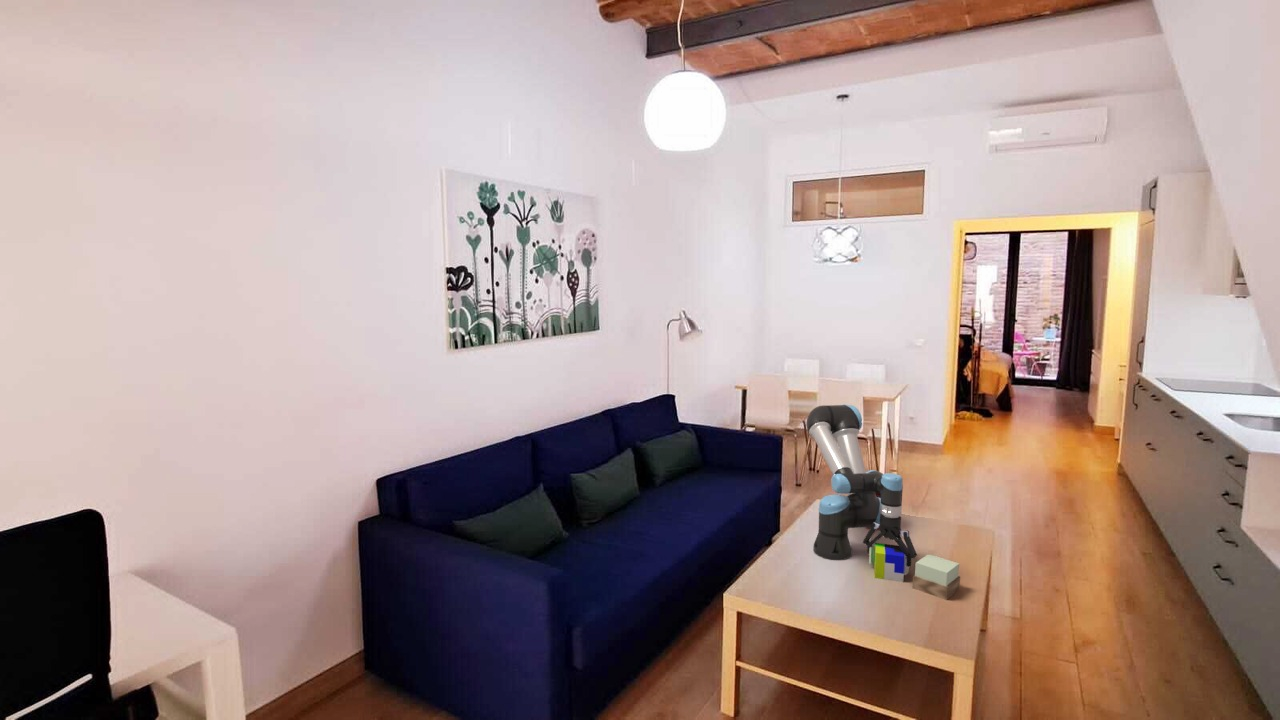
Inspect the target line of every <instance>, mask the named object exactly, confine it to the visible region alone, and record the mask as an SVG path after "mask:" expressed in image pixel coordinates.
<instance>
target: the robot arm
mask: <svg viewBox="0 0 1280 720" xmlns="http://www.w3.org/2000/svg"><path fill="white" fill-rule="evenodd" d="M862 421H863V418H862V414H861V412H860V410H859V408H857V407H856V406H855V405H852V404H836V405H835V404H834V405H832V404H831V405H825V404H823V405H818V406H816V407H814V408H813V409H812V410H811V411H810V412H809V414H808V415H807V418H806V430H807V432H808V434H809V435H808V436H810V438H812V439H814V440H815V443H816V445H817V446H818V448H819V450H820V452H821V455H822V457H823V458H824V460H825V463H826V464H827V467H828V469H829V470H830V472H831V473H832V476H831V479H830V484H831V489H832V490H833V492H834V493H835V494H830V495H829V494H828V495H825V496H823V497H822V498H821V499H820V501H819V506H818V507H819V508H818V529H817V530H818V531H817V532H818V533H817V535H816V538H815V541H814V542H813V553H814V554H815V555H817V556H819V557H820V558H821V557H822V558H823V559H826V560H827V559H828V560H834V561H835V560H836V561H837V560H838V561H839V560H840V561H842V560H846V559H850V558H851V557H852V553H853V552H852V551H853V550H852V546H851V542H850V538H849V535H848V534H849V529H855V528H857V529H858V528H866V527H870V528H871V529H869V531H868V533H866V536H865V537H864V538H863V540H862V544H864V545H865V546H867V547H866V548H867V549H866V553H867V555H868V564H870V565H872V564H874V559H875V543H877V542H878V541H879V540H880V539H881V538H882V537H884V538H885V539H889V540H890V541H893V540H894V542H895V543H896V544H897V546H899V547H900V548H901V550H902V552H903V553H904V556H905V559H904V576H907V575H908V574H909V572H910V571H909V568H910V567H911V565H912V559H915V558H917V556H918V554H917V552H916V549H915V546H914V545H913V544H914V543H913V542H912V539H911V536H910V531H909V530H902V529H901V525H902V512H903V511H902V508H903V507H902V506H903V505H902V503H903V491H904V490H903V489H904V486H903V485H904V483H903V477H902V476H901V475H899V474H896V473H892V472H891V473H890V472H889V473H888V472H886V473H882V472H881V471H878V470H875V469H871V470H868V471H867V470H866V466H865V463H864V458H863V455H862V451H861V448H860V443H859V440H858V435H859V434H860V430H861V429H862V426H863V422H862ZM875 492H877V493H878V494H880V495H881V498H879V497H876V494H875ZM846 494H847V495H846ZM877 528H879V531H880V532H879V533H878V534H877V535H876V536H875V537H874V538H872V537H873V535H874V534H875V532H876V531H877V530H876V529H877ZM903 540H904V541H903Z"/></svg>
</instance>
